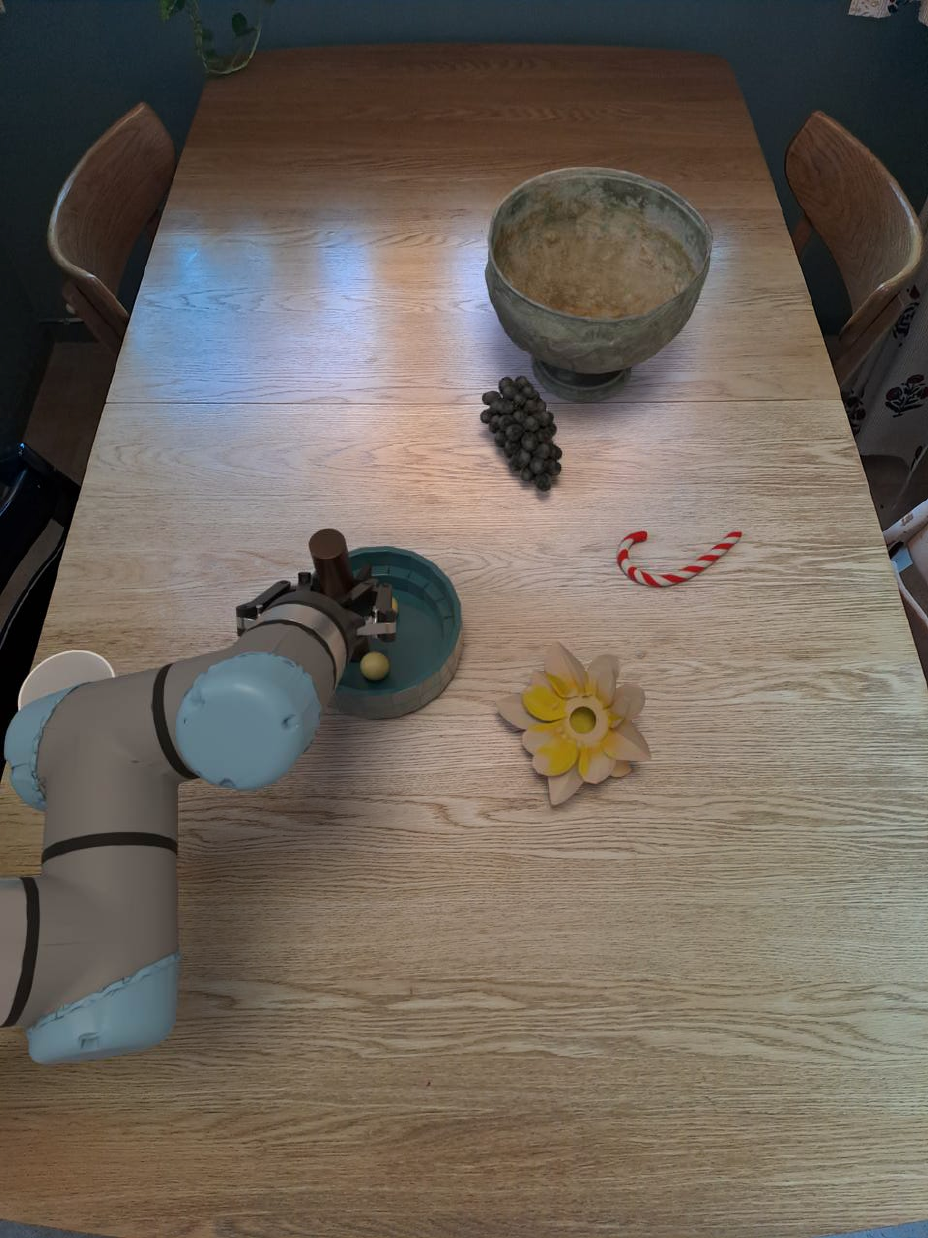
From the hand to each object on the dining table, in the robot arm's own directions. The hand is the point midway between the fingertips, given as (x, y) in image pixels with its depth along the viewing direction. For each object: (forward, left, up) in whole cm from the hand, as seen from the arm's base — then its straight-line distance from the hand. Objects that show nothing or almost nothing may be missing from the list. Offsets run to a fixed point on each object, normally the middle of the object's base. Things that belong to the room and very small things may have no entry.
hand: (348, 576), depth 84 cm
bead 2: (-2, -6, -7) cm, 10 cm away
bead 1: (+3, -2, -7) cm, 8 cm away
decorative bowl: (+45, +13, -10) cm, 48 cm away
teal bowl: (0, -4, -9) cm, 10 cm away
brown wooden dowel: (-3, -3, -8) cm, 9 cm away
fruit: (+29, +6, -10) cm, 31 cm away
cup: (-27, +2, -10) cm, 29 cm away
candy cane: (+34, -16, -10) cm, 39 cm away
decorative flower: (+9, -24, -10) cm, 27 cm away
